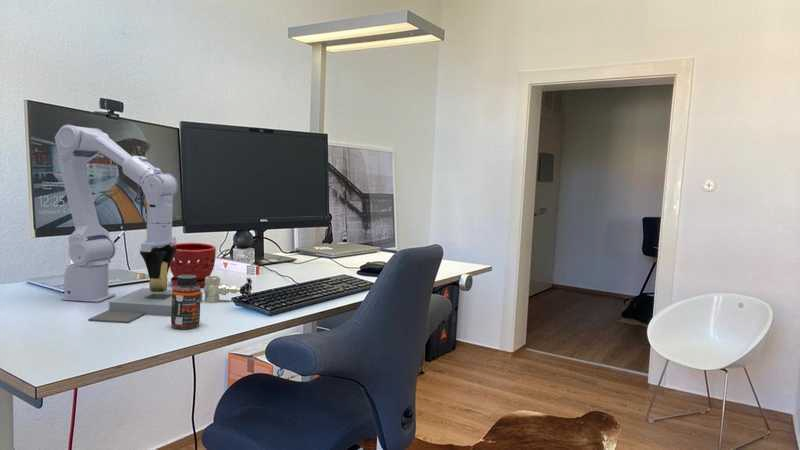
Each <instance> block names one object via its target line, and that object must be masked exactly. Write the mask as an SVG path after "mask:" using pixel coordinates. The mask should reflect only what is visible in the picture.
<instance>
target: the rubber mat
mask: <svg viewBox="0 0 800 450" xmlns="http://www.w3.org/2000/svg"><path fill="white" fill-rule="evenodd" d="M143 316H145V313H138V312H121V311H109V309H108V310H105V311H103V312H101V313H99V314H97V315H94V316H92V317H90V318H88V319H87V320H88V322H103V323H116V324H117V323H118V324H119V323H121V324H129V323H132V322H133V321H135V320H137V319H140V318H141V317H143Z"/></svg>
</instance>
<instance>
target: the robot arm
mask: <svg viewBox="0 0 800 450" xmlns="http://www.w3.org/2000/svg"><path fill="white" fill-rule="evenodd" d="M54 141H55V142H54V143H55V145H56V148H57V153H58V156H57V157H58V158H57V162H58V167H59V171H60V175H61V179H62V183H63V188H64V191H65V195H66V198H67V202H68V206H69V209H70V212H71V218H72V222H73V226H74V231H72V233H71V234H70V235H69V236H68V238H67V239H68V246H69V247H68V257H69V259H70V260H71V262H72V263H70V264H68V266H67V267H66V269H65V271H64V275H63V276H64V278H63V285H64V286H63V288H64V289H63V292H64V293H63V297H62V299H61V300H62V301H74V302H75V301H76V302H77V301H78V302H92V303H95V302H97V303H100V302H102V301H105V300H107V299H109V298H113V297H114V296H115V297H116V293H114V292H113V293H111V292H109V275H110V273H109V267H110V266H109V264H111V259H113V258H114V256H116V251H117V247H116V244H115V242H114V240H113V239H112V238H111V236H110V233H109V231H108V230H107V229H105V228H104V227H103V226H102V225H100V221H99V218H98V214H97V210H96V207H95V203H94V201H95V200H94V198H93V194H92V190H91V186H90V182H89V178H88V176H87V175H88V174H87V172H86V165H87V164H88V163H89V162H90V161H92V160H93V159H94V158H95V157H96V156H97V155H98V154H102V155H104V156H105V157H106V158H108V159H109V160H111V161H112V162H114V163H116V164H117V165H119V166H121V167H122V173H123V174H124V175H125V176H126V177H128V178H129V179H130V180H132V181H133V182H135V183H136V184H137V185H139V186H140V187H141V191H142V192H143V194H144V196H145V202H146V213H147V214H146V240H144V242H142V243H140V250H139V253H140V255H141V258H142V259H143V262H144V263H145V266H146V270H147V274H148V278H149V279H150V278H151V279H159V276H160V272H161V264H162V261H165V262H167V263H168V266H167V275H168V273H169V270H170V263H171V260H172V258H173V255H174V254H175V252H176V250H177V247H173V246H171V245H175V244H177V240H176V236H175V237H174V236H173V204H174V202H173V201H174V200H173V199H174V198H173V196H175V195H176V194H177V192H178V189H179V184H178V180H177V179H176V177H175V176H174V175H173V174H171V173H163V172H162V169H160V168H159V167H155V166H154V165H152V164H151V163H150V162H148V161H147V160H148V158H147V157H145V156H141V155H140V156H139V155H133V156H132V155H131V154H129V153H128V152H127V151H126V150H125V149H123V148H122V147H121V146H120V145H119V144H118V143H117V142H115V141H114V140H113V139H111V138H110V137H109V134H108V133H105V132H103V131H102V130H101V129H100V128H97V127H84V126H76V125H73V124H64V125H62V126H61V127H60V128H59V129H58V131H57V132H56V134H55V136H54ZM173 259H174V258H173Z"/></svg>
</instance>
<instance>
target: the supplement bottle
mask: <svg viewBox="0 0 800 450" xmlns="http://www.w3.org/2000/svg"><path fill="white" fill-rule="evenodd" d="M177 282H178V283H177V284H176V285H174V286H173V287H172V289H171V290H172V309H171V316H170V317H171V318H170V323H171V324H170V325H171V326H172V328H175V329H179V330H187V329H188V330H189V329H194V328H196V327H198V326H199V325H200V317H201V302H200V299H201V292H202V291H201V288H202V287H200V286H198V285H197V284H196V282H197V276H195V275H179V276H178V277H177Z"/></svg>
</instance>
